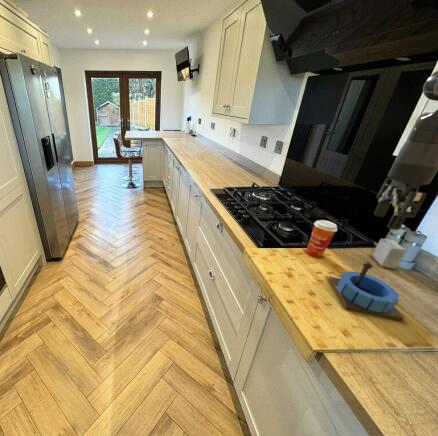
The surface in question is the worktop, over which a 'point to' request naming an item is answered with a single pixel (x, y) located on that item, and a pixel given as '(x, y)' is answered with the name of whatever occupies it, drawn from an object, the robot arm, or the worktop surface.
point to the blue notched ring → (371, 302)
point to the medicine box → (388, 253)
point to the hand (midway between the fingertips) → (384, 222)
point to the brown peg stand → (350, 305)
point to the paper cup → (320, 237)
